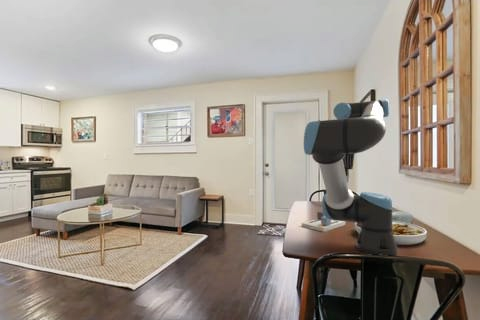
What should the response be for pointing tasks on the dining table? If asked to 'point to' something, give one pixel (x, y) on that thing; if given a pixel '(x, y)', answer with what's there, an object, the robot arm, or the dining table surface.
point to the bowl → (404, 233)
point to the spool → (402, 217)
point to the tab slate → (325, 221)
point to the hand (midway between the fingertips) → (347, 182)
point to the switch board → (317, 225)
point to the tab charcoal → (320, 214)
